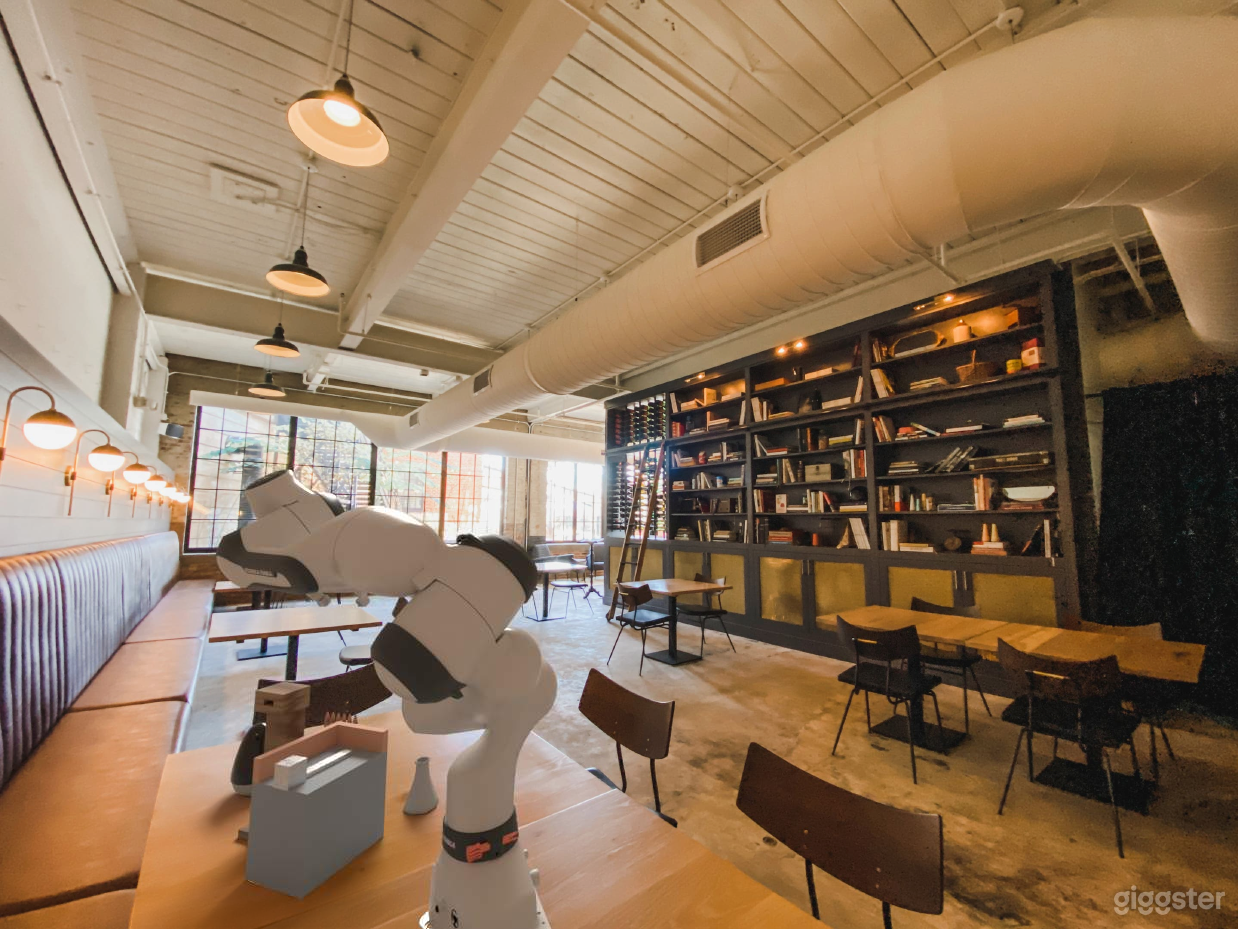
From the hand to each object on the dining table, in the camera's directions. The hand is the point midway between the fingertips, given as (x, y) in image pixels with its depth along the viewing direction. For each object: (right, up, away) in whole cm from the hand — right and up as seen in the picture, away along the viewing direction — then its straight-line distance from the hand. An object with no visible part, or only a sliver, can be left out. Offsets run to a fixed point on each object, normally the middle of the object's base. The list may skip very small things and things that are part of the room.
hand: (345, 604), depth 100 cm
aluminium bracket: (-3, -30, -5) cm, 31 cm away
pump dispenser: (-32, -50, +20) cm, 62 cm away
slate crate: (-3, -47, -4) cm, 47 cm away
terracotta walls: (-3, -30, -2) cm, 31 cm away
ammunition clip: (-21, -51, +35) cm, 66 cm away
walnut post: (-16, -48, +3) cm, 50 cm away
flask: (+10, -49, +13) cm, 51 cm away
